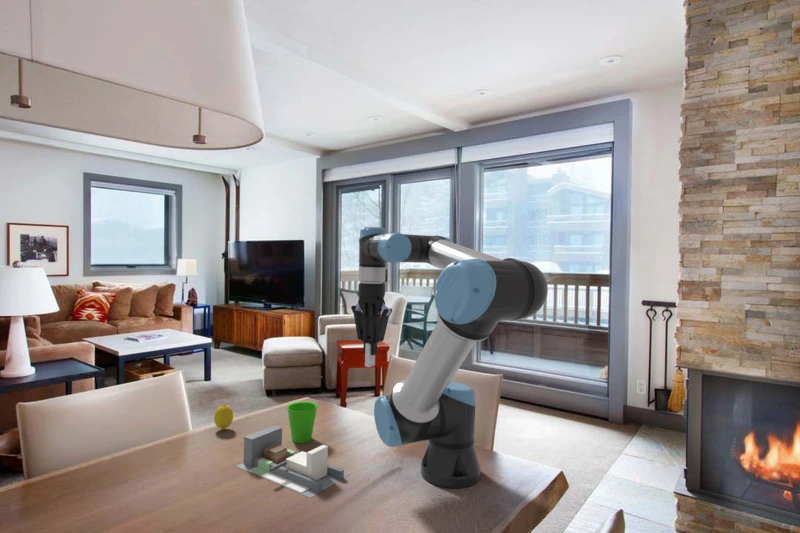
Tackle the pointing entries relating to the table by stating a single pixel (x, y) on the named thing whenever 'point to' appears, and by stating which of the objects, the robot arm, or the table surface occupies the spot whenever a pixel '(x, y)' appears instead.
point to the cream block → (308, 462)
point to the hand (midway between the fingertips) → (369, 365)
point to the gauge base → (283, 475)
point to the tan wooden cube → (276, 453)
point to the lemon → (223, 417)
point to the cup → (302, 420)
